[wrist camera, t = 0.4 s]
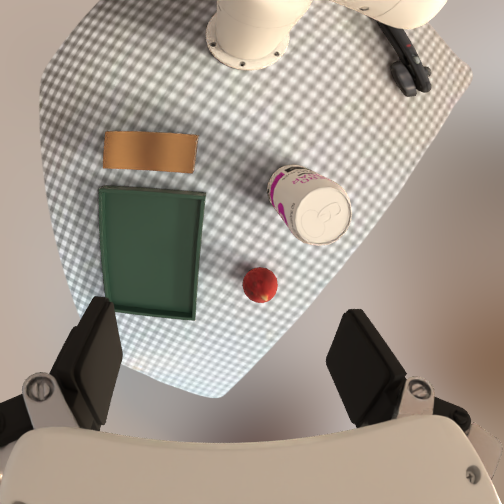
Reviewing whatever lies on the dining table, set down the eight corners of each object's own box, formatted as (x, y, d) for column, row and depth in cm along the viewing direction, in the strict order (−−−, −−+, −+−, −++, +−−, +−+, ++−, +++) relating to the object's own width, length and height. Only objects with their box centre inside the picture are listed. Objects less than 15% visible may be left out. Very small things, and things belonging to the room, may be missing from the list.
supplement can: (283, 221, 47) (311, 262, 33) (256, 182, 43) (276, 208, 30) (323, 195, 45) (366, 225, 32) (298, 154, 42) (337, 167, 29)
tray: (103, 185, 40) (98, 188, 38) (206, 192, 43) (205, 196, 41) (110, 303, 49) (107, 310, 47) (195, 313, 52) (195, 320, 50)
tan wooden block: (116, 162, 39) (102, 168, 33) (119, 130, 37) (105, 131, 31) (195, 167, 41) (192, 173, 36) (199, 134, 39) (197, 135, 34)
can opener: (423, 91, 39) (442, 91, 34) (398, 99, 39) (417, 98, 34) (388, 10, 31) (404, 2, 26) (360, 13, 32) (375, 3, 26)
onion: (238, 285, 51) (242, 312, 44) (244, 257, 49) (249, 281, 41) (269, 289, 52) (277, 315, 45) (276, 262, 50) (286, 285, 42)
